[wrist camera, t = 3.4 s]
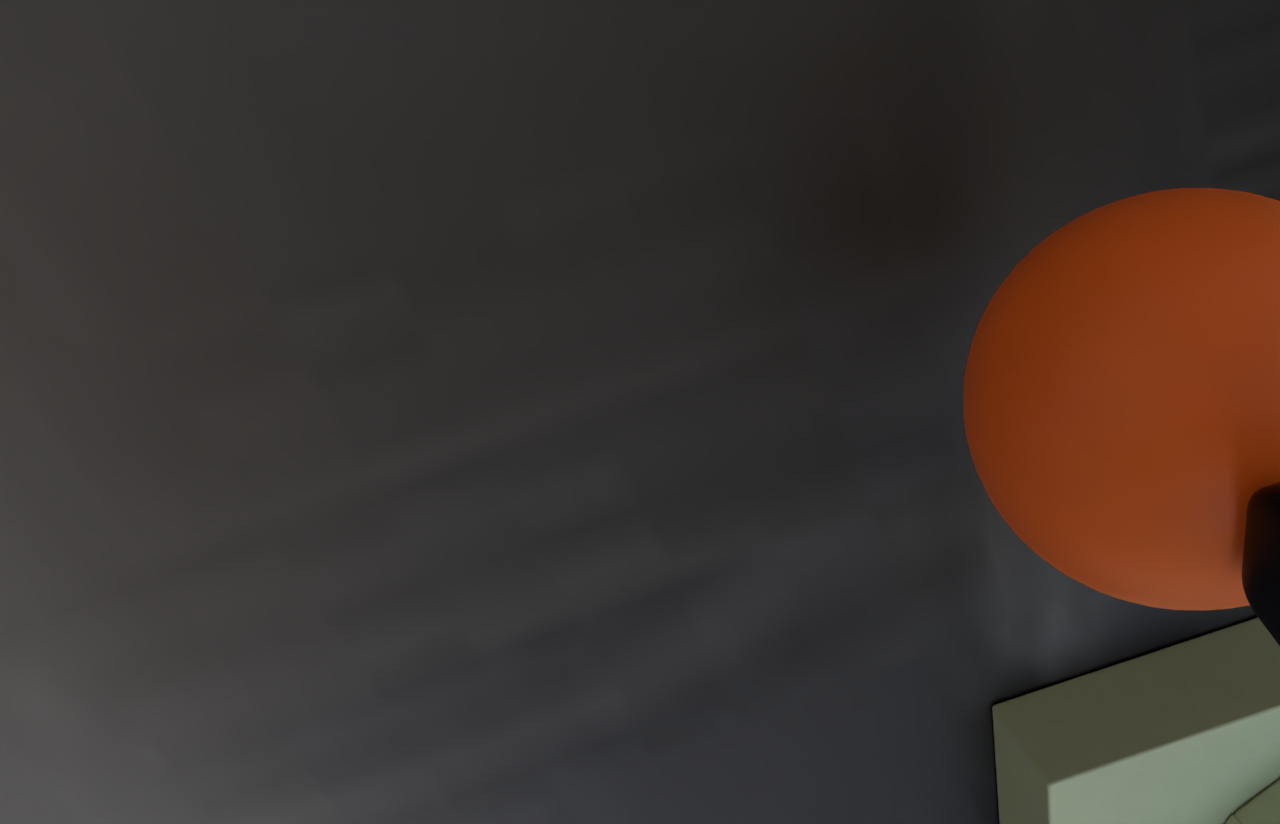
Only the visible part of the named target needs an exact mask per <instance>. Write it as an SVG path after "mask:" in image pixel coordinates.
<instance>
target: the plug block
mask: <svg viewBox="0 0 1280 824" xmlns="http://www.w3.org/2000/svg"><path fill="white" fill-rule="evenodd" d="M992 710H993V726H994V742H995V758H996V774H997V790H998V806H999V822H1000V824H1280V646H1279V645H1278V644H1277V642H1276V641H1275V640H1274V638H1273V637H1272V635H1271V634H1270V633H1269V631H1268V630H1267V629H1266V627H1265V626H1264V625H1263V623H1262V622H1261V621H1260V619H1259V618H1255V619H1252V620H1249V621H1246V622H1243V623H1240V624H1237V625H1234V626H1231V627H1228V628H1225V629H1222V630H1219V631H1216V632H1213V633H1210V634H1207V635H1204V636H1201V637H1198V638H1195V639H1192V640H1189V641H1185V642H1182V643H1179V644H1176V645H1173V646H1170V647H1167V648H1164V649H1161V650H1158V651H1155V652H1152V653H1149V654H1146V655H1143V656H1140V657H1137V658H1134V659H1131V660H1128V661H1125V662H1122V663H1119V664H1116V665H1113V666H1110V667H1107V668H1104V669H1101V670H1098V671H1095V672H1092V673H1089V674H1086V675H1083V676H1080V677H1077V678H1074V679H1071V680H1068V681H1065V682H1062V683H1059V684H1056V685H1053V686H1050V687H1047V688H1044V689H1041V690H1038V691H1035V692H1032V693H1029V694H1026V695H1023V696H1020V697H1017V698H1014V699H1011V700H1008V701H1005V702H1002V703H999V704H996V705H994V706H993V707H992Z"/></svg>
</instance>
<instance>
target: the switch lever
mask: <svg viewBox="0 0 1280 824" xmlns="http://www.w3.org/2000/svg"><path fill="white" fill-rule="evenodd" d="M963 418H964V425H965V431H966V438H967V442H968V446H969V450H970V453H971V456H972V459H973V463H974V466H975V469H976V472H977V474H978V476H979V478H980V480H981V482H982V484H983V486H984V488H985V490H986V492H987V493H988V495H989V497H990V499H991V501H992V503H993V505H994V507H995V508H996V509H997V511H998V512H999V513H1000V515H1001V516H1002V517H1003V519H1004V520H1005V521H1006V523H1007V524H1008V525H1009V526H1010V527H1011V529H1012V530H1013V531H1014V532H1015V534H1016V535H1017V536H1018V537H1019V538H1020V539H1021V540H1022V541H1023V542H1024V543H1025V544H1026V545H1027V546H1028V547H1029V548H1030V549H1031V550H1033V551H1034V552H1035V553H1036V554H1037V555H1039V556H1040V557H1041V558H1042V559H1044V560H1045V561H1046V562H1048V563H1049V564H1050V565H1052V566H1053V567H1055V568H1056V569H1057V570H1059V571H1060V572H1062V573H1063V574H1065V575H1067V576H1069V577H1071V578H1073V579H1075V580H1077V581H1078V582H1080V583H1082V584H1084V585H1086V586H1088V587H1090V588H1092V589H1094V590H1096V591H1098V592H1101V593H1104V594H1106V595H1109V596H1112V597H1115V598H1117V599H1121V600H1125V601H1129V602H1133V603H1137V604H1141V605H1145V606H1150V607H1154V608H1163V609H1171V610H1219V609H1231V608H1236V607H1242V606H1248V605H1250V604H1249V602H1248V600H1247V598H1246V595H1245V592H1244V589H1243V584H1242V561H1243V549H1244V537H1245V525H1246V514H1247V506H1248V502H1249V500H1250V498H1251V497H1252V495H1253V493H1254V492H1256V491H1257V490H1259V489H1260V488H1262V487H1265V486H1268V485H1272V484H1275V483H1278V482H1280V201H1278V200H1275V199H1271V198H1268V197H1264V196H1261V195H1257V194H1253V193H1250V192H1242V191H1235V190H1228V189H1218V188H1176V189H1168V190H1159V191H1153V192H1149V193H1144V194H1140V195H1136V196H1131V197H1128V198H1124V199H1121V200H1119V201H1116V202H1113V203H1110V204H1107V205H1104V206H1101V207H1099V208H1097V209H1094V210H1092V211H1090V212H1088V213H1086V214H1084V215H1082V216H1080V217H1078V218H1076V219H1074V220H1073V221H1071V222H1069V223H1068V224H1066V225H1064V226H1063V227H1061V228H1059V229H1058V230H1056V231H1055V232H1053V233H1052V234H1051V235H1050V236H1048V237H1047V238H1046V239H1044V240H1043V241H1042V242H1041V243H1039V244H1038V245H1037V246H1035V247H1034V248H1033V249H1032V250H1031V251H1030V252H1029V253H1028V254H1027V255H1026V256H1025V257H1024V258H1023V259H1022V260H1021V261H1020V262H1019V263H1018V264H1017V265H1016V267H1015V268H1014V269H1013V270H1012V271H1011V273H1010V274H1009V275H1008V276H1007V278H1006V279H1005V280H1004V281H1003V282H1002V284H1001V285H1000V286H999V288H998V289H997V291H996V293H995V294H994V296H993V297H992V299H991V300H990V302H989V304H988V305H987V307H986V309H985V311H984V313H983V315H982V317H981V320H980V322H979V324H978V326H977V328H976V332H975V335H974V338H973V341H972V344H971V347H970V351H969V354H968V358H967V363H966V369H965V375H964V381H963Z"/></svg>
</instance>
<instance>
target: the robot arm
mask: <svg viewBox="0 0 1280 824" xmlns="http://www.w3.org/2000/svg"><path fill="white" fill-rule="evenodd" d="M1242 584H1243V589H1244V592H1245V595H1246V598H1247V600H1248V602H1249V604H1250V606H1251V608H1252V609H1253V611H1254V612H1255V614H1256V615H1257V617H1258V618H1259V619H1260V621H1261V622H1262V623H1263V625H1264V626H1265V627H1266V629H1267V630H1268V631H1269V633H1270V634H1271V635H1272V637H1273V638H1274V640H1275V641H1276V642H1277V644H1278V645H1279V646H1280V482H1278V483H1275V484H1272V485H1268V486H1265V487H1262V488H1260V489H1259V490H1257V491H1256V492H1254V493H1253V495H1252V497H1251V498H1250V500H1249V502H1248V506H1247V514H1246V525H1245V537H1244V549H1243V561H1242Z"/></svg>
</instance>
